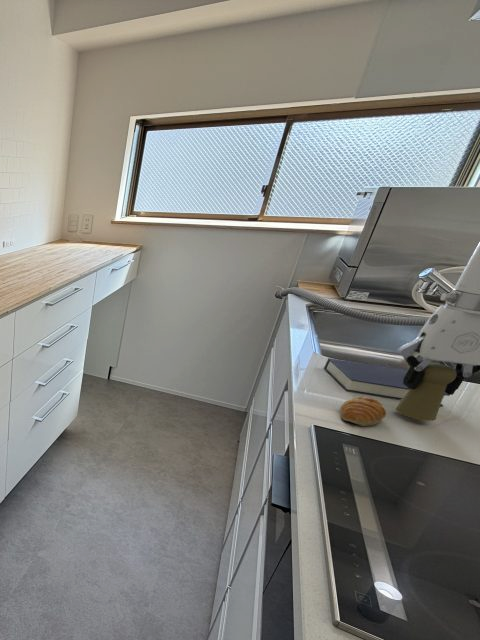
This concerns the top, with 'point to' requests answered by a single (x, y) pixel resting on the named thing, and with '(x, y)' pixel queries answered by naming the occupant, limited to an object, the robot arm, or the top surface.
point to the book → (369, 378)
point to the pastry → (363, 411)
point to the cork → (427, 393)
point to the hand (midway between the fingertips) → (427, 388)
